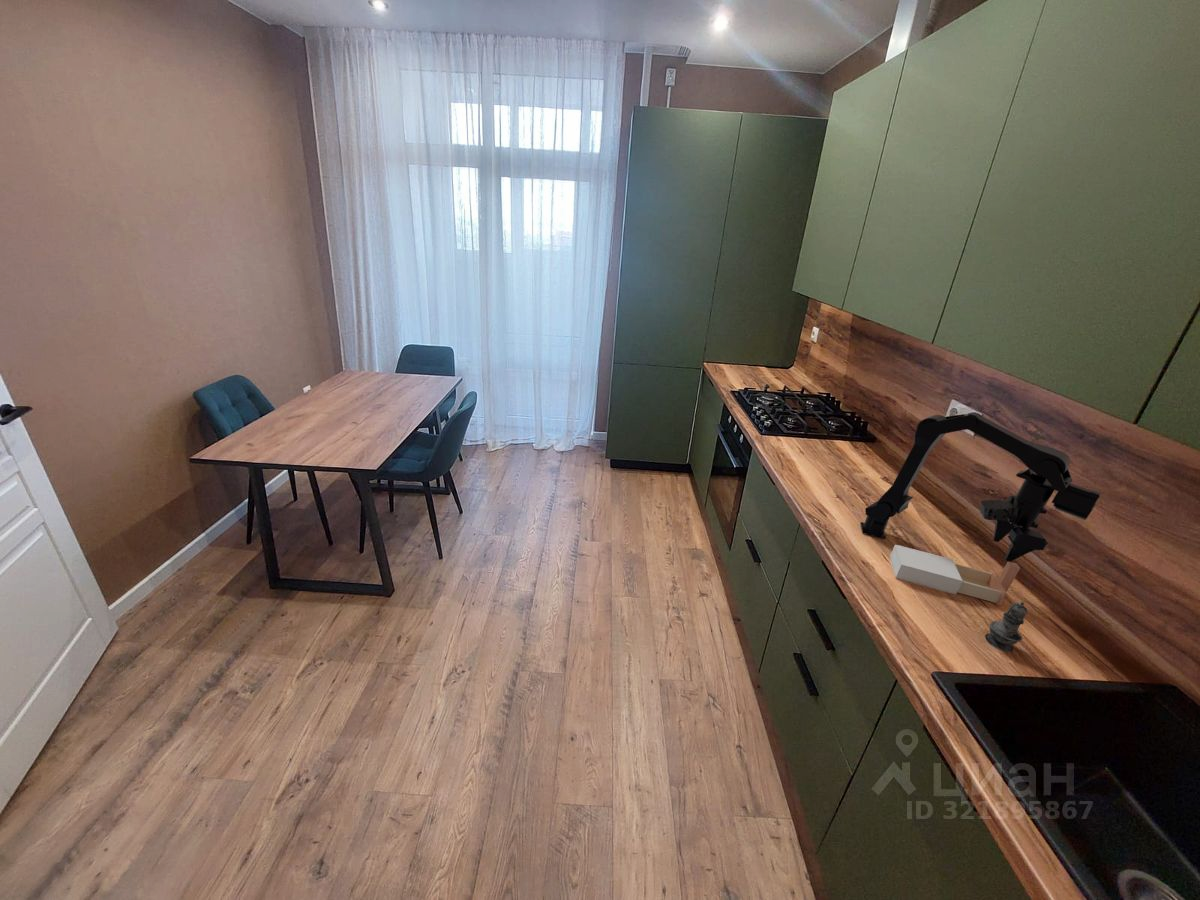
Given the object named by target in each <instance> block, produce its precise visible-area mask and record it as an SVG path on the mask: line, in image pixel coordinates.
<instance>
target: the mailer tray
mask: <svg viewBox="0 0 1200 900" xmlns="http://www.w3.org/2000/svg"><path fill="white" fill-rule="evenodd" d="M954 564H955V566H956V568H957V570H958V572H959V574H960V576H961V578H962V580H963V582H962V584H961V586H960V588H959V590H958V591H957V593H959V594H962V595H967V596H971V597H973V598H977V599H981V600H985V601H988V602H991V603H996V604H997V606H1001V605H1002V604H1003V602H1004V599H1005V598H1006V596H1007V595H1008V594H1007V592H1008V590H1009V589H1010V587H1011V585H1012V584H1013V582H1014V580H1015V578H1016V577H1017V575H1018V573H1019V571H1020V569H1021V567H1020V566H1019V565H1018V563H1017V562H1016V563H1015V562H1013V561H1011V562H1009V561H1006V564H1005V565H1004V568H1003V570H1002V571H1001V573H1000V574H999V576H998V575H996V573H995V571H994V570H993V569H990V571H985V570H981V569H977V568H974V567H969V566H966V565H962V564H958V563H954Z"/></svg>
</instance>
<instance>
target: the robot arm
mask: <svg viewBox="0 0 1200 900" xmlns="http://www.w3.org/2000/svg"><path fill="white" fill-rule="evenodd" d="M966 430H967V431H969V432H972V433H974V434H976V435H977V436H979V437H981V438H983V439H984V440H986V441H988V442H989V443H992V444H993V445H995V446H998V448H1000V449H1003V450H1005V451H1006V452H1008V453H1010V454H1012V455H1013V456H1015V457H1016V458H1017V459H1018V460H1020V461H1021V462H1022V463H1023V465H1025V467H1026V468H1027V469H1023V470H1020V471H1019V472H1017V473H1016V474H1015V476H1016V477H1017V478H1020V479H1023V480H1024V481H1023V483H1022V484H1021V486H1020V488H1019V489H1018V492H1017V493H1016V495H1015V494H1014V495H1013V494H1011V495H1010V496H1009V497H1008V499H1007V500H1002V499H986V500H985V499H982V500H981V501H980V511H979V512H980V514H981V515H982V516H983V519H984V520H987V521H995V524H994V531H993V539H992V540H993V542H996V543H998V542H1001V541H1002V540H1003V539H1004V538H1005V537H1007V538H1008V540H1009V541H1010V544H1009V547H1008V549H1007V552H1006V555H1005V558H1004V559H1005V561H1006V562H1013V561H1014V560H1016V559H1018V558H1021V557H1022V556H1025V555H1026V554H1028V553H1032V552H1034V551H1045V550H1046V549H1047V547H1048V545H1049V542H1048V541H1047V539H1046V538H1045V536H1044V535H1043V534H1042V533H1041V532H1040V531H1037V530H1033V529H1030V528H1034V529H1037V528H1038V527H1039V524H1038V522H1037V520H1038V519H1039V517H1040V515H1041V514H1043V515H1046V513H1047V512H1048V510H1047V508H1046V505H1047V504H1048V502H1049V501H1050V498H1052V497H1051V496H1053V494H1054V492H1055V491H1057V493H1056V494H1055V496H1054V497H1053V499H1052V501H1051V504H1053V507H1055V508H1054V509H1055V510H1056V511H1060V512H1063V513H1066V514H1068V515H1070V516H1073V517H1076V518H1078V519H1081V520H1083V521H1087V519H1088V517H1089V516H1090V514H1091V512H1092V511H1093V509H1094V508H1095V506H1096V505H1097V501H1098V500H1099V498H1100V497H1101V496H1102V493H1101V492H1099V491H1096V490H1093V489H1088V488H1085V487H1082V486H1080V485H1077V484H1074V483H1073V477H1072V475H1071V472H1070V470H1069V468H1070V466H1071V459H1070V456H1069V455H1068V454H1067V453H1065V452H1064V451H1061V450H1059V449H1056V448H1053V447H1050V446H1048V445H1044V444H1040V443H1035V442H1032V441H1030V440H1028V439H1026V438H1024V437H1022V436H1020V435H1018V434H1017V433H1015V432H1013V431H1010V430H1009V429H1007V428H1005V427H1003V426H1001V425H999V424H998V423H995V422H994V421H992V420H990V419H988V418H987V417H984V416H982V415H981V413H978V412H975V411H972V412H968V413H964V414H963V413H962V414H955V415H948V416H944V415H942V414H934V415H931V416H927V417H926V418H923V419H922V420H920V421H919V423H918V424H917V426H916V429H915V433H914V439H913V446H912V447H911V449H910V451H909V453H908V455H907V457H906V459H905V461H904V463H903V464H902V466H901V468H900V470H899V472H898V474H897V475H896V478H895V479H894V481H893V483H892V485H891V486H890V488H888V489H887V490H886V491H885V493H884V494H882V496H881V497H880V498H879V499H878V500H877V501H875V502H874V503H872V504H870V505H868V506H867V507H865V509H864V510H865V511H864V512H865V515H866V518H865V521H864V522H862V521H861V522H860V528H861V532H862V534H865V535H868V536H872V537H876V538H880V539H883V540H886V538H887V537H886V533H885V530H886V527H887V525H888V523H889V520H890V518H891V517H894V516H896V515H899V514H901V513H902V512H904V511H905V510H906V509H907V510H908V507H909V504H910V502H912V500H913V498H914V497H913V496H911V495H909V491H910V488H911V486H912V485H913V483H914V481H915V480H916V477H917V475H918V474H919V472H920V470H921V468H922V466H923V464H924V463H925V461H926V460H927V458H928V456H929V454H930V452H931V451H932V450H933V448H934V447H935V446H936V445H937V444H938V443H939V442H940V441H941V440H942V439H943V438H944V437H945V435H946V434H951V433H954V432H959V431H966Z"/></svg>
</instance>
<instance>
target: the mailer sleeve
mask: <svg viewBox="0 0 1200 900" xmlns="http://www.w3.org/2000/svg"><path fill="white" fill-rule="evenodd" d="M889 560H890V564H891V567H892V570H893V574H894V578H895V579H897V580H900V581H904V582H908V583H912V584H916V585H918V586H923V587H925V588H929V589H930V588H931V589H934V590H937V591H940V592H944V593H948V594H952V595H954V596H956V595H957V593H958V592H957V591H958V590H959V588H960V586H961V584H962V582H963V580H962V578H961V576H960V574H959V572H958V570H957V568H956V566H955V564H956V563H955V561H954V560H953V558H949V557H945V556H941V555H938V554H933V553H930V552H926V551H922V550H918V549H914V548H911V547H906V546H903V545H900V544H899V545H898V544H894V546H893V548H892V551H891V553H890V556H889Z"/></svg>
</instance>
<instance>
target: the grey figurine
mask: <svg viewBox="0 0 1200 900" xmlns="http://www.w3.org/2000/svg"><path fill="white" fill-rule="evenodd" d="M1027 614H1028V609H1027V607H1026V606H1025V603H1024V601H1020V602H1018V603H1017V602H1014V603H1012V604H1010V606H1009V608H1008V610H1007V611H1005V612H1003V617H1002V619H1001V621H996V620H995V621H991V622H990V623H989V626H990V627H989V632H990V633H986V634H984V635H985V636H984V638H985V640H986V641H987V643H988V644H989V645H990V646H991V647H993V648H995V649H997V650H999V651H1002V652H1006V653H1011V652H1013V651H1014V645H1015V644H1017V643H1019V642H1021V641H1022V640H1023V635H1022V634H1021V633H1020V632H1019V631H1018V629H1019V628H1020V626H1021V625H1024V623H1025V621H1024V618H1025V617H1026V615H1027Z"/></svg>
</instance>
